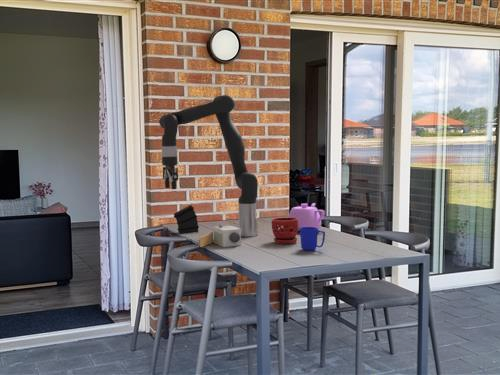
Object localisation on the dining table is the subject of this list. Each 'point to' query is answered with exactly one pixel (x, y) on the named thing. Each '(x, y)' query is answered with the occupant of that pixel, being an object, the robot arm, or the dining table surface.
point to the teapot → (307, 216)
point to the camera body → (227, 235)
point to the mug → (310, 238)
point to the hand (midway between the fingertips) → (170, 188)
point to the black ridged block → (187, 220)
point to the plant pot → (285, 230)
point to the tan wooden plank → (206, 239)
